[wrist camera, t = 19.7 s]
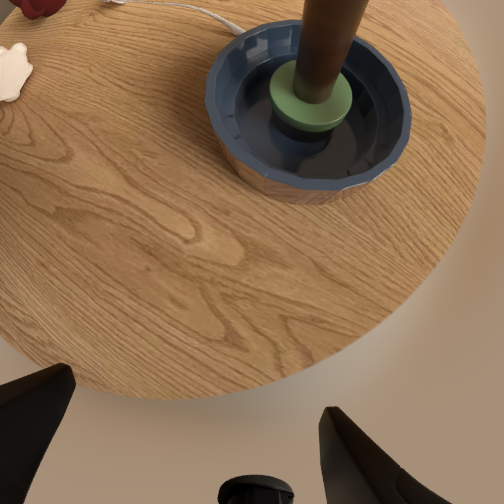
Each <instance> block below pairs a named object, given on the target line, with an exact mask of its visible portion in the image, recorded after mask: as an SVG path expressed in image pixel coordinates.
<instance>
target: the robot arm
mask: <svg viewBox="0 0 504 504" xmlns="http://www.w3.org/2000/svg"><path fill="white" fill-rule="evenodd" d="M75 387H76V381H75V378H74V375H73V372H72V369H71V367H70V366H69V365H67V364H64V363H58V364H56V365H53V366H50V367H48V368H45V369H43V370H40V371H38V372H35V373H32V374H30V375H27V376H24V377H22V378H19V379H17V380H14V381H11V382H8V383H6V384H3V385H0V504H23V503H24V501H25V498H26V496H27V493H28V490H29V488H30V486H31V483H32V481H33V478H34V476H35V474H36V472H37V469H38V467H39V465H40V463H41V461H42V459H43V456H44V454H45V452H46V450H47V448H48V446H49V444H50V442H51V440H52V438H53V436H54V434H55V432H56V430H57V428H58V426H59V425H60V423H61V421H62V418H63V416H64V414H65V412H66V409H67V406H68V404H69V402H70V399H71V397H72V394H73V392H74V390H75ZM319 443H320V463H321V470H322V476H323V482H324V487H325V493H326V499H327V504H451V503H450V502H448V501H447V500H445V499H443V498H442V497H440V496H438V495H437V494H436V493H434V492H432V491H431V490H429V489H428V488H426V487H425V486H424V485H422V484H421V483H419V482H418V481H417V480H416V479H414V478H413V477H412V476H411V475H410V474H408V473H407V472H406V471H405V470H404V469H403V468H400V465H398V464H397V463H396V462H395V461H394V460H393V459H392V458H391V457H390V456H389V455H387V454H386V453H385V452H384V451H383V450H382V449H381V448H380V447H379V446H378V445H377V444H376V443H374V441H373V440H372V439H371V438H370V437H368V436H367V435H366V434H365V433H364V432H363V431H362V430H361V429H360V428H359V427H358V426H357V425H356V424H355V423H354V422H353V421H352V420H351V419H350V418H349V417H348V416H347V415H346V414H345V413H344V412H343V411H342V410H341V409H340V408H339V407H336V406H335V407H326V408H325V409H324V412H323V414H322V417H321V419H320V422H319ZM293 498H294V493H293V492H289V491H282V490H275V489H269V488H264V487H258V486H253V485H249V484H244V483H240V482H235V483H233V485H232V486H231V488H230V490H229V492H228V493H227V495H226V497H225V499H224V500H223V502H222V504H289V503H290V502H291V501H292V499H293Z"/></svg>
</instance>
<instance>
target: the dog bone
mask: <svg viewBox="0 0 504 504" xmlns="http://www.w3.org/2000/svg"><path fill="white" fill-rule="evenodd" d="M26 51H27V48H26V46H25V44H23V43H17V44H15V45H13V46H12V48H11V50H7V49H6V48H5V47H0V101H1V100H4V101H6V102H12V101H15V100H16V99H18V97H19V96H20V89H21V88H22V86H23V84H24V82H25V81H26V79H27V78H28V77H29V76H30V74H31V73H32V70H33V66H32V64H30V63H28V60H27V57H26Z"/></svg>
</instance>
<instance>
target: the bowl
mask: <svg viewBox="0 0 504 504" xmlns="http://www.w3.org/2000/svg"><path fill="white" fill-rule="evenodd" d="M301 24H302V20H292V19H291V20H284V21H277V22H271V23H266V24H262V25H260V26H257V27H255V28H253V29H251V30H248V31H246V32H244V33H242V34H240V35H239V36H237V37H236V38H235V39H233V40H232V41H231V42H230V43H229V44H228V45H227V46H226V47H225V48H223V49H222V50H221V51H220V52H219V54H218V55H217V57H216V59H215V61H214V63H213V65H212V66H211V68H210V70H209V72H208V74H207V77H206V87H205V99H204V102H205V107H206V110H207V113H208V116H209V119H210V122H211V126H212V129H213V131H214V133H215V135H216V138H217V140H218V142H219V144H220V146H221V148H222V151H223V153H224V155H225V157H226V159H227V160H228V161H229V163H230V164H231V165H232V167H233V168H234V169H235V171H236V172H237V173H238V174H239V176H240V177H241V178H242V179H243V180H244V181H246V182H247V183H249V184H250V185H252V186H253V187H254V188H256V189H257V190H259V191H260V192H262V193H263V194H265V195H266V196H269V197H273V198H276V199H279V200H282V201H285V202H288V203H291V204H311V205H321V204H326V203H329V202H332V201H336V200H339V199H342V198H346V197H348V196H350V195H351V194H353V193H354V192H356V191H358V190H359V189H361V188H362V187H364V186H366V185H367V184H369V183H370V182H372V181H373V180H375V179H376V178H377V177H379V176H380V175H382V174H383V173H384V172H386V171H387V170H388V169H390V168H391V167H392V166H394V165H395V163H396V162H397V160H398V159H399V157H400V155H401V154H402V152H403V150H404V148H405V147H406V145H407V143H408V140H409V136H410V128H411V120H412V112H411V107H410V103H409V98H408V94H407V90H406V88H405V86H404V84H403V82H402V80H401V79H400V77H399V75H398V74H397V72H396V70H395V69H394V67H393V66H392V64H391V63H390V62H389V61H388V60H387V59H386V58H385V57H384V56H383V55H382V54H381V53H380V52H379V51H378V50H377V49H375V48H374V47H373V46H372V45H371V44H369V43H368V42H366V41H364V40H363V39H361V38H359V37H358V36H356V35H355V37H354V39H353V42H352V44H351V47H350V49H349V51H348V54H347V56H346V59H345V61H344V64H343V66H342V69H341V71H340V73H341V74H342V75H343V76H344V77H345V78H346V80H347V81H348V83H349V85H350V88H351V91H352V104H351V107H350V109H349V111H348V113H347V114H346V116H345V118H344V119H343V120H342V122H341V123H340V124H338V125H337V126H336V127H335V129H334V131H333V132H332V133H331V134H330V135H329V136H328V137H327V138H325V139H323V140H321V141H318V142H311V143H305V142H299V141H296V140H293V139H291V138H289V137H287V136H286V135H284V134H283V133H282V132H281V131H280V130H279V129H278V128H277V126H276V125H275V123H274V120H273V117H272V106H271V103H270V99H269V85H270V80H271V77H272V75H273V74H274V72H275V71H276V70H277V69H278V68H279V67H280V66H282V65H283V64H285V63H287V62H289V61H292V60H296V58H297V51H298V45H299V38H300V31H301Z"/></svg>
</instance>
